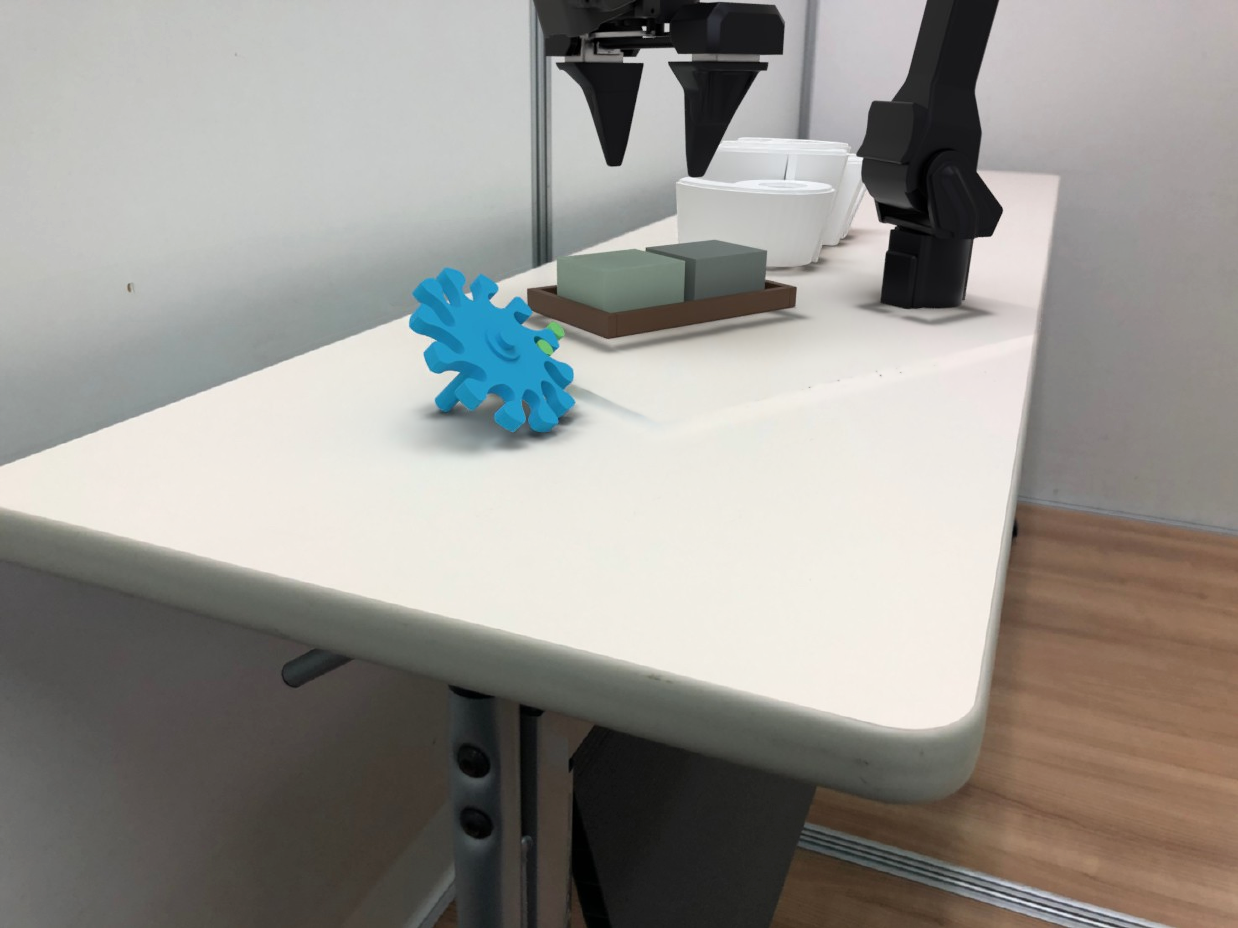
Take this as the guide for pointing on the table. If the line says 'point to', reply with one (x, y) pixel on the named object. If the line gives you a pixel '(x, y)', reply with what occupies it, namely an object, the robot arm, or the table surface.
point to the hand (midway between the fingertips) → (652, 171)
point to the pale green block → (621, 279)
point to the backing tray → (659, 310)
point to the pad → (717, 267)
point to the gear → (491, 352)
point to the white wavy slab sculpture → (773, 197)
